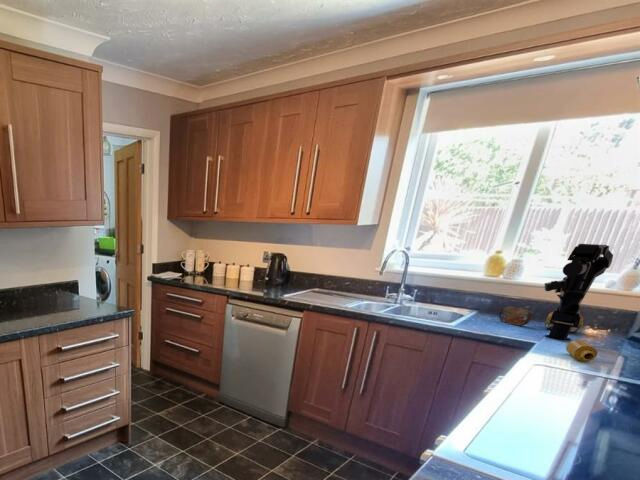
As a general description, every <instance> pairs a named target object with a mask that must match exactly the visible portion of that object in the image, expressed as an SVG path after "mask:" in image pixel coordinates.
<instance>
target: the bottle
mask: <svg viewBox="0 0 640 480" xmlns="http://www.w3.org/2000/svg"><path fill="white" fill-rule="evenodd" d="M565 350H566V352H567V353H568V354H569V355H570V356H572V358H574V359H575V360H576V361H579V362H584V363H586V362H590V361H593V360H594V359H595V358H597V355H598V351H597V349H596V347H594V346H592V345H591V344H589V343H588V342H586V341H585V340H582V339H575V340H571V341H569V342H568V343H567V345H566V346H565Z"/></svg>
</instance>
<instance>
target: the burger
mask: <svg viewBox="0 0 640 480" xmlns="http://www.w3.org/2000/svg"><path fill="white" fill-rule="evenodd" d="M553 312H554V311H551V312H549V313H548V316H547V317H546V318H545V321H544V328H546V329H548V330H551V329H552V327H553V325H554V324H553V323H550V320H551V317H552V314H553ZM580 317H581V319H580V323H579V326H578V327H572V328H571V330H570V332H569V333H576V332H578V331H579V330H580V329H581V328H582V327H583V324H584V322H583V321H584V316H583V315H582V314H581V313H580ZM557 322H560V321H557ZM563 323H566V322H563ZM569 324H574V323H569Z"/></svg>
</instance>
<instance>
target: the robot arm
mask: <svg viewBox="0 0 640 480" xmlns="http://www.w3.org/2000/svg"><path fill="white" fill-rule="evenodd" d="M613 258H614V254H613V253H612V252H611V251H610V245H607V244H596V243H595V244H593V243H578V245H576V246H575V247H574V248H573V250H572V251H571V253H570V255H569V256H568V258H567V261H571V262H568V263H566V264H565V265H564V266H563V268H562V274H563V275H565V276H564V277H563V278H562V280H551V281H550V282H544V283H543V284H544V291H545V292H551V291H554V293H555V294H556V296H557V297H558V298H559V305H558V306H557V309H554V311H552V312H553V314H552V317H551V320H550V323H553V324H554V325H553V327H552V329H550V331H549V333H548V334H545V335H544V337H547V338H552V339H555V340H560V341H562V340H563V341H566V340H571V337H569V335H570V333H571V332H570V330H571V328H572V327H578V326H579V323H580V319H581V317H580V314H581V306H580V305H581V303H582V301H584V298H585V296H586V295H587V293H588V292H589V290H590V288H591V286H592V285H593V283H594V282H595V280H596V278H598V277H599V276H601V275H603V274H604V273H606V270H607V269H609V268H610V267H611V265H612V262H613ZM557 293H559V294H557ZM557 321H560V322H557ZM563 322H566V323H563ZM569 323H574V324H569Z"/></svg>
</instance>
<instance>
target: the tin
mask: <svg viewBox="0 0 640 480" xmlns="http://www.w3.org/2000/svg"><path fill="white" fill-rule="evenodd" d="M532 317H533V314H532V312H531V310H529V309H527V308H526V309H525V308H520V307H516V306H511V305H508V306H505V307H503V308H502V309H500V311H499V314H498V318H499V321H501V322H503V323H505V324H511V325H514V326H526V325H527V324H529V323H530V321H531V319H532Z"/></svg>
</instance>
